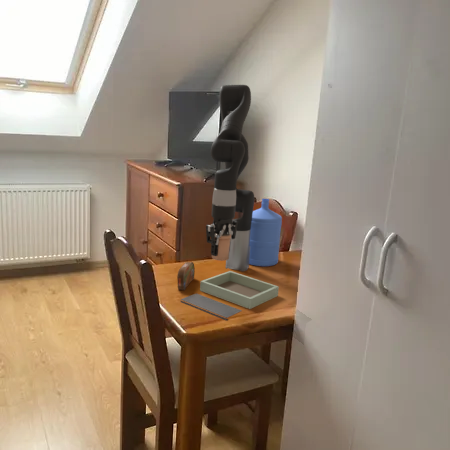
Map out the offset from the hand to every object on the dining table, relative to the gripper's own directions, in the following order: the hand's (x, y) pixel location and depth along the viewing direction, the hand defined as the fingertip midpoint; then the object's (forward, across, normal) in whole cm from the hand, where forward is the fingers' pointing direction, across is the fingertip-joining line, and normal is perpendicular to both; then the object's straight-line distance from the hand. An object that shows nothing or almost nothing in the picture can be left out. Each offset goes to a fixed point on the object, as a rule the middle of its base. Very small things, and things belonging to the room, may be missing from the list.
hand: (220, 253), depth 157 cm
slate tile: (+18, +2, 0) cm, 19 cm away
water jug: (+17, -53, -18) cm, 58 cm away
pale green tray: (+18, -13, 0) cm, 22 cm away
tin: (+18, -6, -19) cm, 27 cm away
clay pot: (+1, 0, 0) cm, 1 cm away
